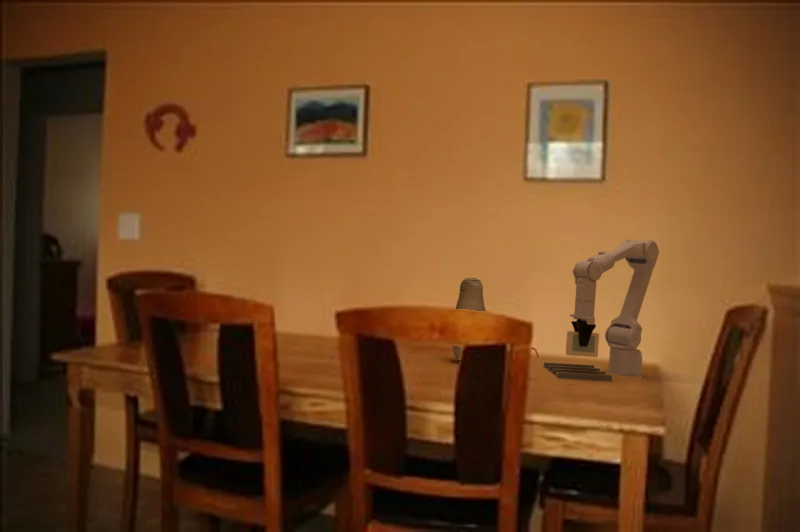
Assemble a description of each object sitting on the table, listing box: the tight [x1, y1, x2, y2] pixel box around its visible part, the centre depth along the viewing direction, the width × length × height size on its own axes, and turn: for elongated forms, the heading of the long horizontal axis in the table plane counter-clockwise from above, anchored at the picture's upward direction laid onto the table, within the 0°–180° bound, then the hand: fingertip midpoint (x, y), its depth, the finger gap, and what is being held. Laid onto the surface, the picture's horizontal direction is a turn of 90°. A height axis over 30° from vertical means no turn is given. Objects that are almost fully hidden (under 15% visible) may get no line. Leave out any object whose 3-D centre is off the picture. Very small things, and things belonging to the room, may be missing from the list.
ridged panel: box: [542, 361, 614, 383], centre depth 194 cm, size 16×20×2 cm
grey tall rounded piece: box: [452, 277, 487, 361], centre depth 207 cm, size 10×10×28 cm
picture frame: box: [565, 330, 600, 358], centre depth 190 cm, size 9×2×7 cm, turn 91°
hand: (581, 345), depth 190 cm, fingers closed on picture frame, 2 cm apart
